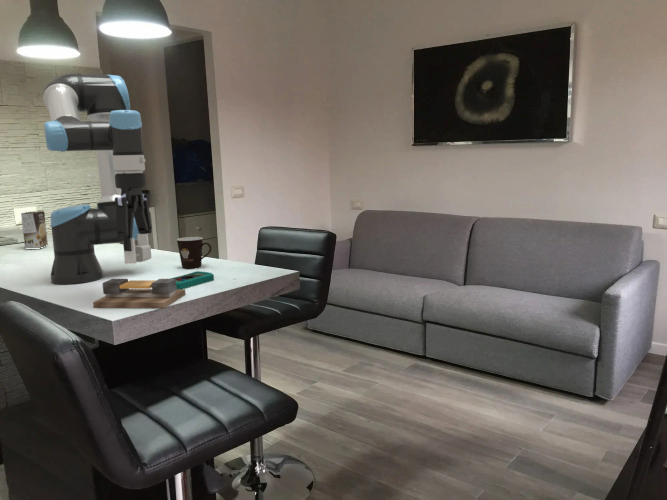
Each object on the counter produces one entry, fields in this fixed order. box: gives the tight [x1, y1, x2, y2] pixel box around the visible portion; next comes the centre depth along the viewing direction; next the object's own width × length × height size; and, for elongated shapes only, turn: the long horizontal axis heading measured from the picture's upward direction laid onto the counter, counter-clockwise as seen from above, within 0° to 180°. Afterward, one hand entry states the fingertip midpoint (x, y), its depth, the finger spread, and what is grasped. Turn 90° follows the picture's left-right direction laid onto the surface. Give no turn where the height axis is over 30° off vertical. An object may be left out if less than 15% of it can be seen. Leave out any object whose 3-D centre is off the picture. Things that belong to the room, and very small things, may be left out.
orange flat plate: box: [119, 279, 156, 289], centre depth 146 cm, size 8×6×1 cm
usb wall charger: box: [135, 244, 152, 263], centre depth 145 cm, size 4×7×4 cm, turn 171°
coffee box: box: [20, 210, 49, 249], centre depth 243 cm, size 9×6×16 cm
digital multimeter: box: [169, 270, 215, 290], centre depth 166 cm, size 7×15×3 cm, turn 148°
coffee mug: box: [176, 236, 212, 270], centre depth 190 cm, size 12×9×10 cm
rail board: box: [92, 278, 186, 309], centre depth 147 cm, size 19×14×6 cm
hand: (137, 260), depth 145 cm, fingers closed on usb wall charger, 7 cm apart
